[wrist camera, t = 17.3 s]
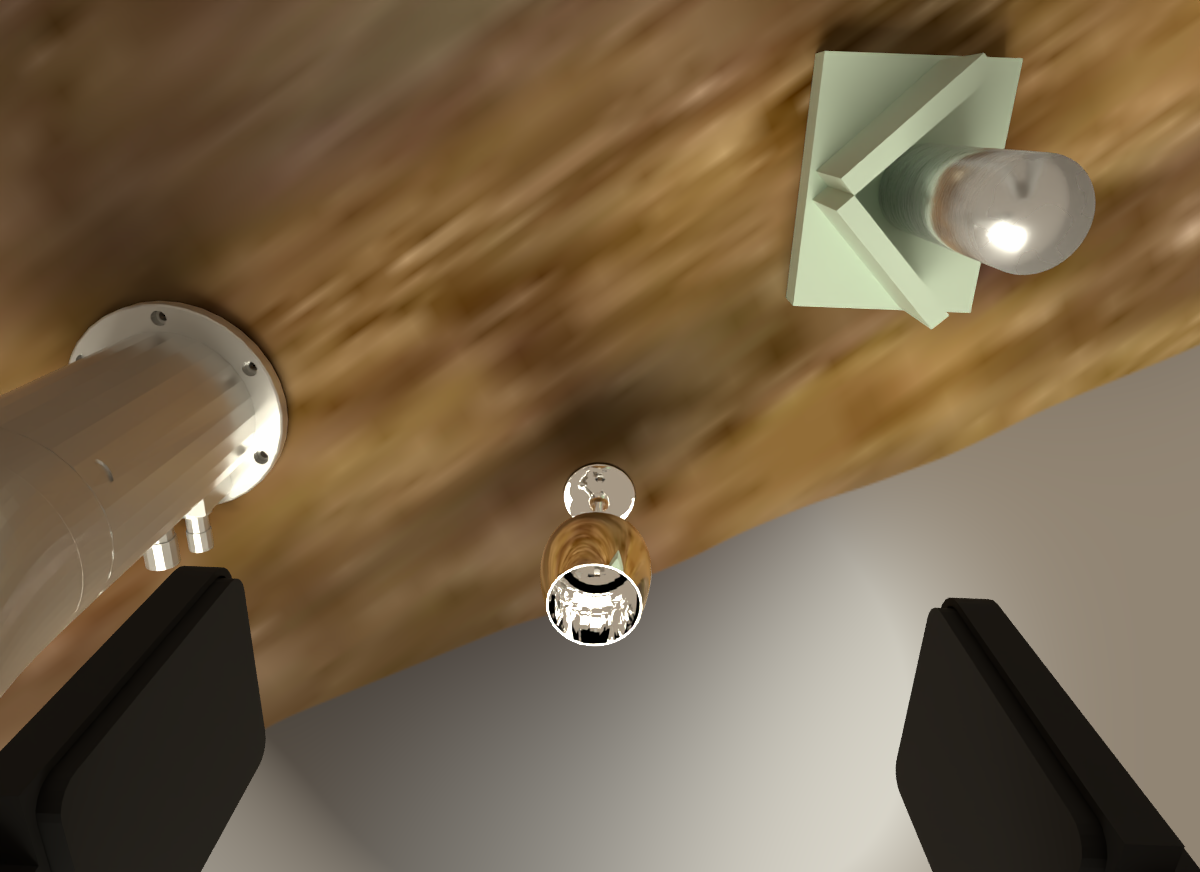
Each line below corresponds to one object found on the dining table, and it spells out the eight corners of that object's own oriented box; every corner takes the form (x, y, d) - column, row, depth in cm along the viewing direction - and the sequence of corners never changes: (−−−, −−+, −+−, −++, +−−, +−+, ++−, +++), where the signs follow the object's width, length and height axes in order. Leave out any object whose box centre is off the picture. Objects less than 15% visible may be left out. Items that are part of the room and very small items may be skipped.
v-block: (786, 297, 46) (814, 328, 39) (815, 53, 41) (852, 42, 34) (956, 304, 46) (1012, 336, 39) (1004, 60, 41) (1077, 51, 34)
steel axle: (975, 145, 41) (1109, 155, 29) (956, 235, 42) (1077, 277, 31) (886, 140, 41) (987, 149, 29) (871, 231, 42) (961, 271, 31)
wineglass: (665, 491, 50) (678, 599, 39) (605, 553, 52) (602, 674, 41) (592, 435, 49) (585, 531, 38) (534, 501, 51) (510, 611, 39)
